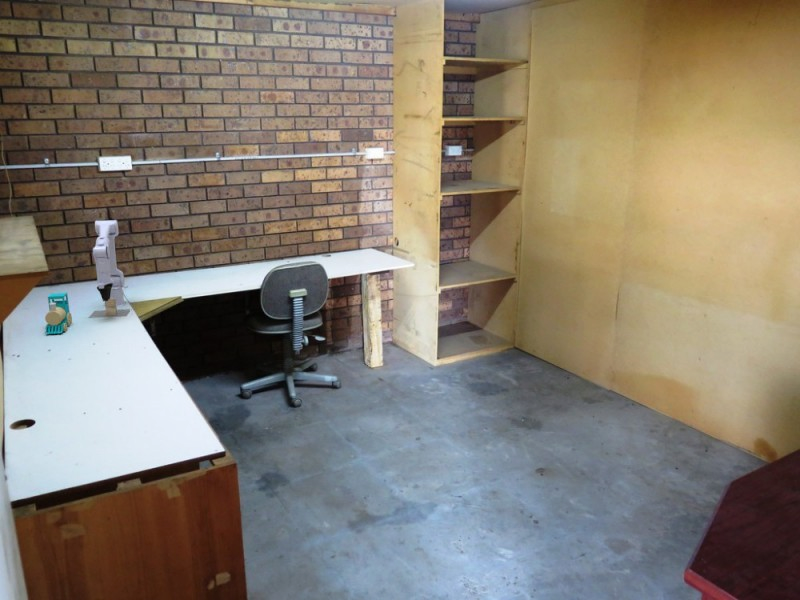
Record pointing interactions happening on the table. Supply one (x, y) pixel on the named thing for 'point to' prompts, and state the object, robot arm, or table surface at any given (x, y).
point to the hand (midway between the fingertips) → (106, 300)
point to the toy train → (58, 314)
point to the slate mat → (103, 314)
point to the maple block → (111, 307)
